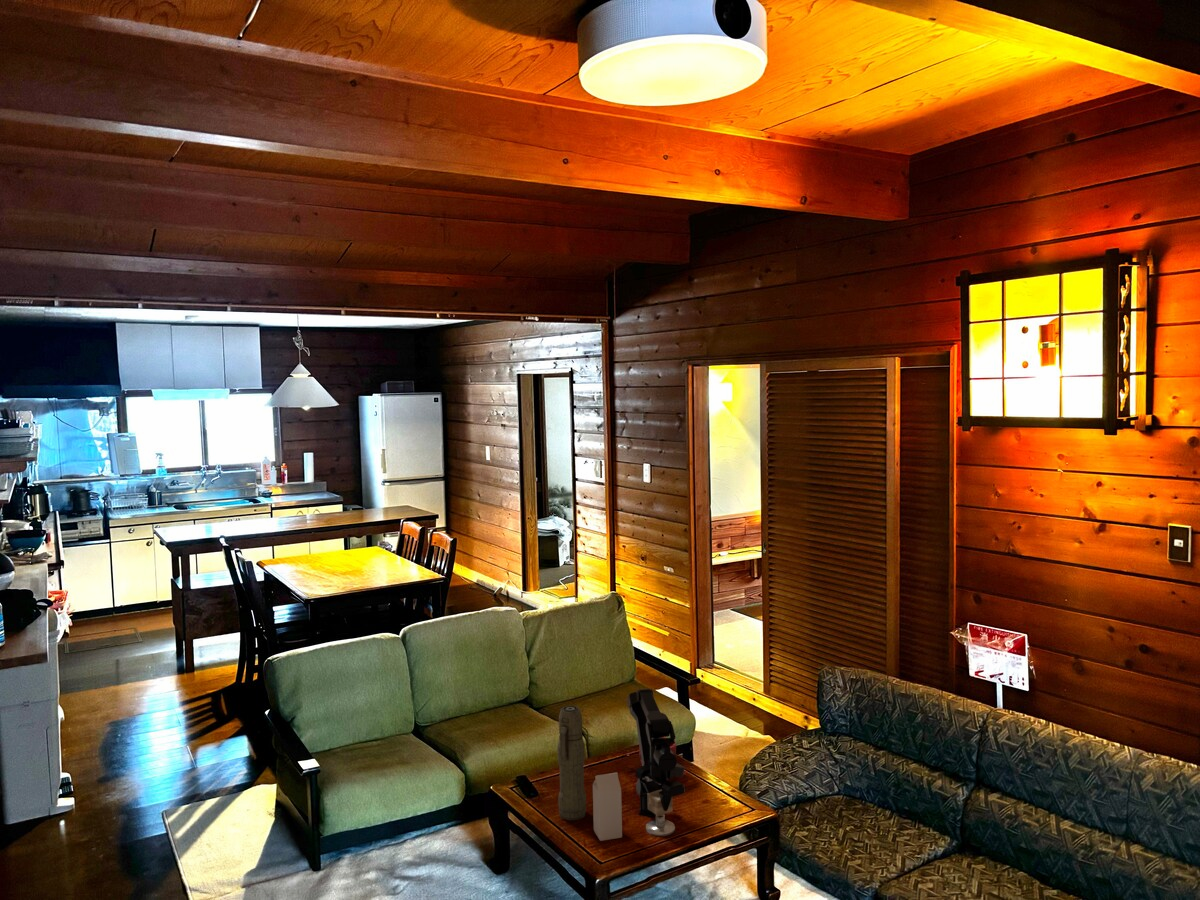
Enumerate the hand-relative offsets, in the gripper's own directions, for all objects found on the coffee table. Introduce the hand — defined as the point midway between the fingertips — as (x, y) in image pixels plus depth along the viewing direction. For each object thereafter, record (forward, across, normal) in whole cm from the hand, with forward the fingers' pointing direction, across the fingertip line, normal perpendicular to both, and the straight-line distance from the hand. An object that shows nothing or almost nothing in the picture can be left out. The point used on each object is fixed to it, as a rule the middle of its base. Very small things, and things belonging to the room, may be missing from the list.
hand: (660, 807), depth 276 cm
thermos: (+7, +24, +18) cm, 31 cm away
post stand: (+7, 0, 0) cm, 7 cm away
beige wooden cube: (+1, 0, 0) cm, 1 cm away
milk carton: (+7, +6, +15) cm, 18 cm away
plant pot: (+8, +33, -23) cm, 41 cm away
